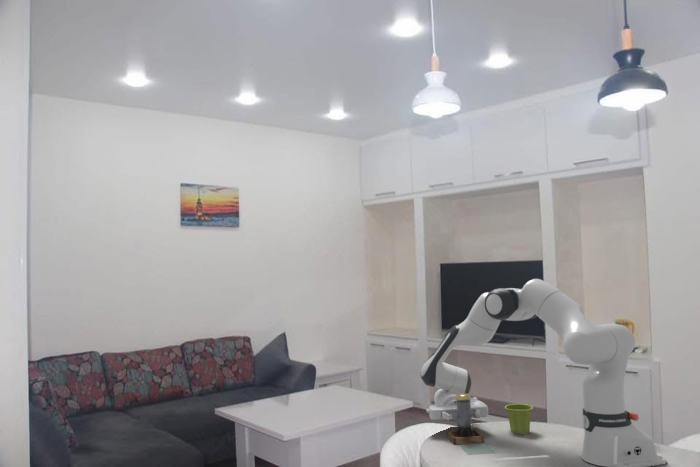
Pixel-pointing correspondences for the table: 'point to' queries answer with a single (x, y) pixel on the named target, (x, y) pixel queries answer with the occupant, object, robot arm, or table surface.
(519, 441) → the table surface
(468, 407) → the pepper mill
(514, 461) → the table surface
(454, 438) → the tray
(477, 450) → the mat
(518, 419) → the plant pot
